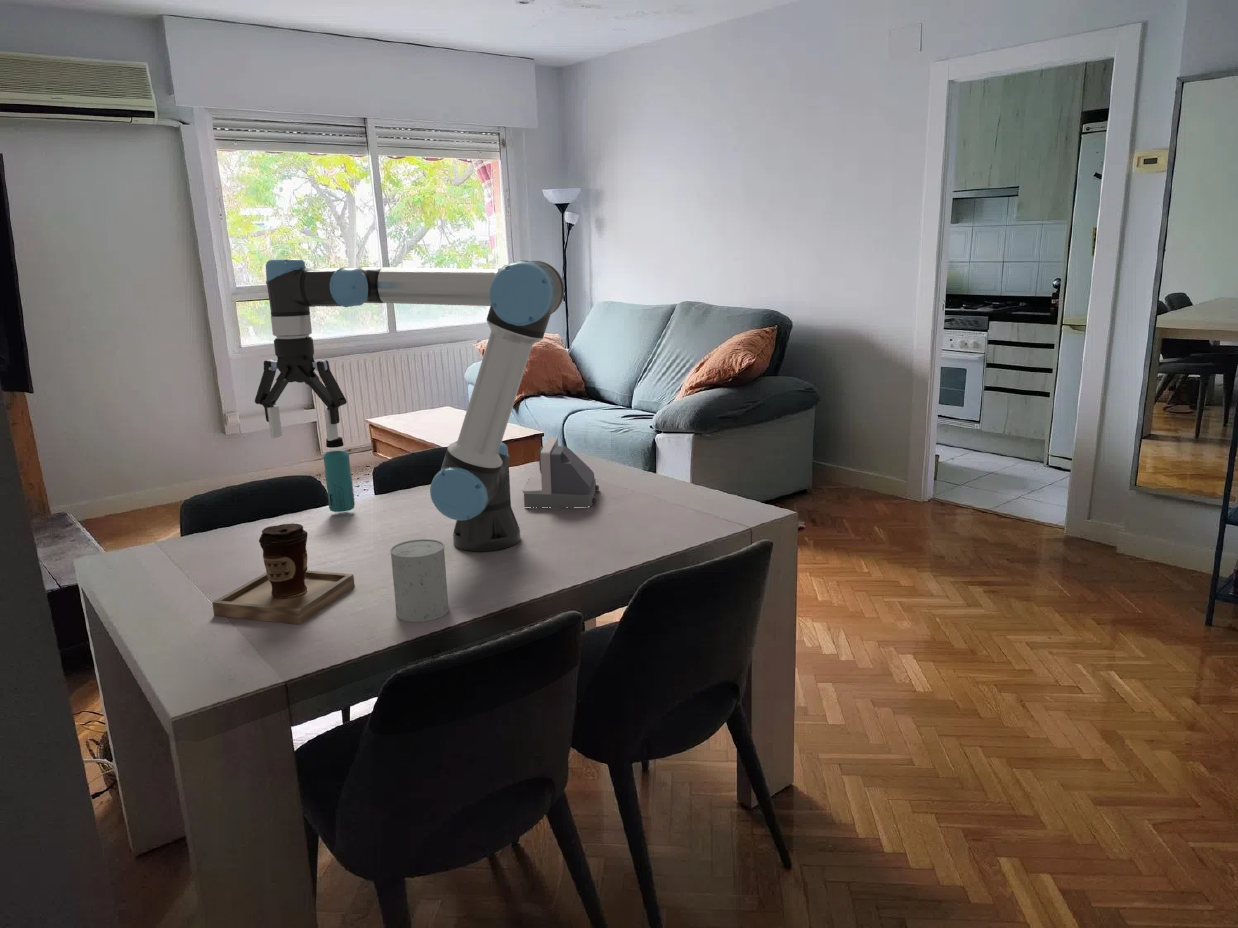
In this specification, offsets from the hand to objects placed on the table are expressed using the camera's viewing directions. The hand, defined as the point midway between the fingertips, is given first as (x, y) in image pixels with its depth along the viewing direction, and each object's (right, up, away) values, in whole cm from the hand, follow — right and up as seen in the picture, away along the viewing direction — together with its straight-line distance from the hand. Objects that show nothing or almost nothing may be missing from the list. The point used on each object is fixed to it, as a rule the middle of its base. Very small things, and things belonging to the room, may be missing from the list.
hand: (304, 438), depth 177 cm
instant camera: (+51, -15, +48) cm, 72 cm away
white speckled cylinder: (+30, -33, -22) cm, 50 cm away
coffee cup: (+3, -30, -17) cm, 35 cm away
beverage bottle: (-4, -18, +38) cm, 42 cm away
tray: (+3, -31, -16) cm, 36 cm away
